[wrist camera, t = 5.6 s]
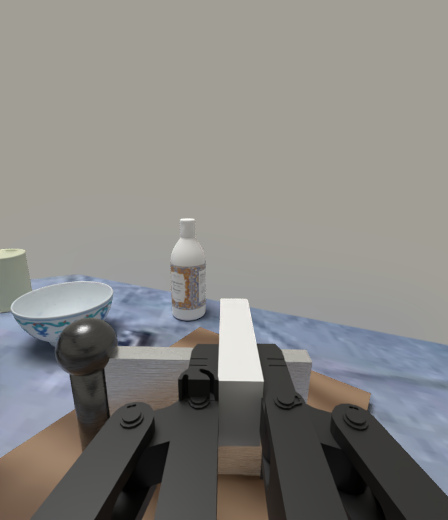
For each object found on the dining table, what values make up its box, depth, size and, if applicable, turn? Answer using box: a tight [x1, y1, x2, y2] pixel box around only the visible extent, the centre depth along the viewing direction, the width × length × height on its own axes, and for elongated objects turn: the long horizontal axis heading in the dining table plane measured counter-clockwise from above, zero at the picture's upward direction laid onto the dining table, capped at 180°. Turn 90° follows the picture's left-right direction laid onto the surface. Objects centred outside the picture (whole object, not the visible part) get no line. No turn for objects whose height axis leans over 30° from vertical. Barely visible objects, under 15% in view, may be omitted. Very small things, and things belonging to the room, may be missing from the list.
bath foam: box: [171, 218, 206, 321], centre depth 55 cm, size 7×7×20 cm
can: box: [0, 249, 32, 313], centre depth 59 cm, size 9×9×12 cm
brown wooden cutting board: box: [0, 327, 371, 520], centre depth 29 cm, size 34×28×2 cm
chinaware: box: [11, 281, 113, 346], centre depth 48 cm, size 15×15×8 cm
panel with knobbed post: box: [55, 318, 312, 475], centre depth 23 cm, size 20×4×14 cm, turn 90°
